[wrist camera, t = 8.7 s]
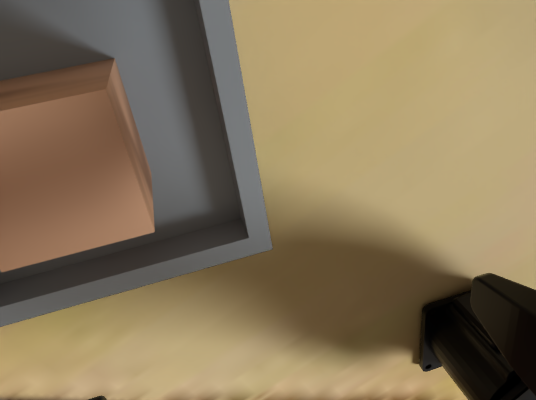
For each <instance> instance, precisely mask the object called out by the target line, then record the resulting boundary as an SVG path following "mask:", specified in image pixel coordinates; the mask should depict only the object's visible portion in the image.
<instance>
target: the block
mask: <svg viewBox="0 0 536 400" xmlns="http://www.w3.org/2000/svg"><path fill="white" fill-rule="evenodd" d="M153 232H155V227H154V210H153V193H152V176H151V170H150V167H149V164H148V161H147V158H146V155H145V152H144V148H143V145H142V142H141V139H140V136H139V133H138V130H137V127H136V123H135V120H134V117H133V114H132V111H131V108H130V105H129V101H128V98H127V95H126V92H125V89H124V86H123V83H122V80H121V76H120V73H119V70H118V67H117V64H116V61H115V58H113V59H108V60H103V61H98V62H93V63H88V64H83V65H77V66H72V67H67V68H62V69H57V70H52V71H47V72H42V73H37V74H32V75H27V76H22V77H17V78H12V79H7V80H2V81H0V270H1V272H6V271H9V270H13V269H17V268H21V267H25V266H28V265H32V264H36V263H40V262H43V261H47V260H51V259H55V258H59V257H62V256H66V255H70V254H74V253H78V252H81V251H85V250H89V249H93V248H96V247H100V246H104V245H108V244H112V243H115V242H119V241H123V240H127V239H131V238H134V237H138V236H142V235H146V234H150V233H153Z"/></svg>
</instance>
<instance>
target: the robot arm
mask: <svg viewBox="0 0 536 400" xmlns="http://www.w3.org/2000/svg"><path fill="white" fill-rule="evenodd" d="M419 365H420V367H421V369H422V370H423V371H425V372H427V371H430V370H433V369H436V368H439V367H441V366H443V368H444V369H445V370H446V371H447V373H448V374H449V375H450V377H451V378H452V379H453V381H454V382H455V383H456V384H457V386H458V387H459V388H460V390H461V391H462V392H463V394H464V395H465V396H466V398H467V399H468V400H536V290H534V289H532V288H529V287H526V286H524V285H521V284H519V283H516V282H513V281H511V280H508V279H505V278H503V277H500V276H497V275H495V274H492V273H486V274H483V275H480V276H477V277H475V278H474V279H473V280H472V289H471V291H468V292H465V293H462V294H459V295H456V296H453V297H449V298H446V299H443V300H440V301H437V302H434V303H431V304H428V305H426V306H425V307H424V308H423V310H422V324H421V343H420V362H419ZM88 400H107V399H106V398H105V397H104V396H98V397H95V398H92V399H88Z"/></svg>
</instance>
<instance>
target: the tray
mask: <svg viewBox="0 0 536 400" xmlns="http://www.w3.org/2000/svg"><path fill="white" fill-rule="evenodd" d="M113 58H115V61H116V64H117V67H118V70H119V73H120V76H121V80H122V83H123V86H124V89H125V92H126V95H127V98H128V101H129V105H130V108H131V111H132V114H133V117H134V120H135V123H136V127H137V130H138V133H139V136H140V139H141V142H142V145H143V148H144V152H145V155H146V158H147V161H148V164H149V167H150V170H151V176H152V193H153V210H154V227H155V232H153V233H150V234H146V235H142V236H138V237H134V238H131V239H127V240H123V241H119V242H115V243H112V244H108V245H104V246H100V247H96V248H93V249H89V250H85V251H81V252H78V253H74V254H70V255H66V256H62V257H59V258H55V259H51V260H47V261H43V262H40V263H36V264H32V265H28V266H25V267H21V268H17V269H13V270H9V271H6V272H1V270H0V327H2V326H5V325H9V324H12V323H16V322H19V321H23V320H26V319H30V318H33V317H37V316H40V315H44V314H47V313H51V312H54V311H58V310H61V309H65V308H68V307H72V306H75V305H79V304H82V303H86V302H89V301H93V300H96V299H100V298H103V297H107V296H110V295H114V294H117V293H121V292H124V291H128V290H131V289H135V288H138V287H142V286H145V285H149V284H152V283H156V282H159V281H163V280H166V279H170V278H173V277H177V276H181V275H184V274H188V273H191V272H195V271H198V270H202V269H205V268H209V267H212V266H216V265H219V264H223V263H226V262H230V261H233V260H237V259H240V258H244V257H247V256H251V255H254V254H258V253H261V252H265V251H268V250H272V249H273V248H272V242H271V237H270V231H269V226H268V220H267V214H266V209H265V203H264V197H263V192H262V186H261V181H260V175H259V169H258V164H257V158H256V152H255V147H254V141H253V135H252V130H251V124H250V119H249V113H248V107H247V102H246V96H245V90H244V85H243V79H242V73H241V68H240V62H239V57H238V51H237V45H236V40H235V34H234V28H233V23H232V17H231V12H230V6H229V0H0V81H2V80H7V79H12V78H17V77H22V76H27V75H32V74H37V73H42V72H47V71H52V70H57V69H62V68H67V67H72V66H77V65H83V64H88V63H93V62H98V61H103V60H108V59H113Z"/></svg>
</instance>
